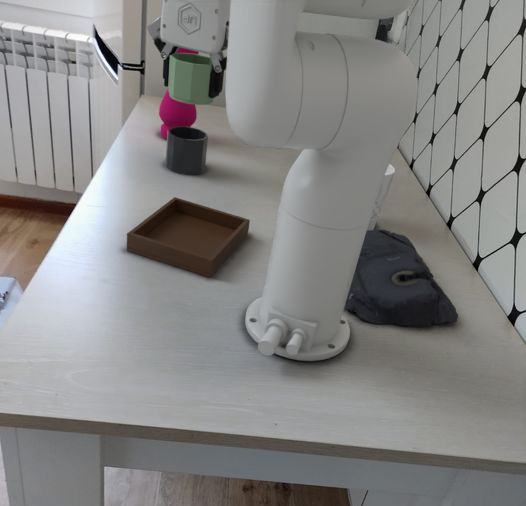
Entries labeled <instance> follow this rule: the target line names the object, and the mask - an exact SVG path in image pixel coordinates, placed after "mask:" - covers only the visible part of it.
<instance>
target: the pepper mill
mask: <svg viewBox="0 0 526 506" xmlns="http://www.w3.org/2000/svg"><path fill="white" fill-rule="evenodd" d="M176 53H190V54H198V55H200V54H199V53H200V52H197V51H193V50H189V49H185V48H181V47H179V48H178V50H177V52H176ZM169 93H170V92H169V91H168V88H167V89H166V91H165V94H164V96H163V98H162V99H161V102H160V105H159V107H158V108H159V109H158V116H159V118H160V120H161V122H162V124H161V125H160V136H161V137H162V138H163V139H165V140H167V132H168V129H170V128H171V127H177V126H186V127H193V125H194V124H195V123H196V121H197V113H198V112H197V107H196V106H197V105H195V104H187V103H183V102H179V101H176V100H174V99H172V98H171V97H170V96H169Z"/></svg>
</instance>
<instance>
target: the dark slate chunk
mask: <svg viewBox="0 0 526 506" xmlns="http://www.w3.org/2000/svg"><path fill="white" fill-rule="evenodd" d="M344 310H347V311H349V312H350V313H352V314H356V315H357V316H358V317H359V320H360V321H362V322H364V323H365V322H369V323H370V324H378V325H383V324H390V325H395V326H404V327H413V328H424V327H429V326H430V325H436V326H438V325H439V324H444V323H445V322H446V323H447V322H448V323H457V322H458V319H459V313H458V312H457V310H456V307H455V306H454V304H453V303H452V300H451V299H450V298H449V296H448V295H447V294H446V293H445V292H444V290H443V289H442V287H441V286H440V285H439V284H438V283H437V281H436V280H435V279H434V275H433V273H432V272H431V269H430V268H429V267H428V266H427V264H426V263H425V261H424V260H423V257H421V255H420V254H419V253H418V252H417V249H416V247H415V246H414V243H413V242H412V241H411V239H410V238H408V236H406V235H405V234H401V233H396V232H391V231H390V230H387V229H383V228H382V229H379V228H378V229H373V230H370V231H366V235H365V238H364V242H363V245H362V248H361V252H360V255H359V259H358V262H357V266H356V269H355V272H354V276H353V279H352V283H351V286H350V290H349V293H348V296H347V300H346V303H345V307H344Z"/></svg>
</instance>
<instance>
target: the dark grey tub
mask: <svg viewBox="0 0 526 506" xmlns="http://www.w3.org/2000/svg"><path fill="white" fill-rule="evenodd" d="M208 141H209V135H208V133H207V132H206V131H204V130H202V129H199V128H197V127H193V126H191V127H186V126H177V127H171V128H170V129H168V132H167V139H166V151H165V166H166V168H167V169H168V170H170V171H171V172H174V173H177V174H181V175H188V176H189V175H190V176H191V175H199V174H202V173H203V172H204V171H205V169H206V164H207V163H206V162H207V151H208V144H209V143H208Z"/></svg>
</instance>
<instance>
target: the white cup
mask: <svg viewBox="0 0 526 506" xmlns="http://www.w3.org/2000/svg"><path fill="white" fill-rule="evenodd" d="M395 172H396V170H395V167H394V166H393V165H392V164H390V163H389V165H388V168H387V170H386V173H385V175H384V178H383V181H382V183H381V186H380V189H379V192H378V195H377V199H376V202H375V205H374V208H373V212H372V215H371V219H370V221H369V224H368V228H367V231H370V230H375V227H376V224H377V221H378V218H379V215H380V214H381V212H382V209H383V206H384V203H385V200H386V198H387V196H388V192H389V189H390V188H391V184H392V181H393V178H394V175H395Z"/></svg>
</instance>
